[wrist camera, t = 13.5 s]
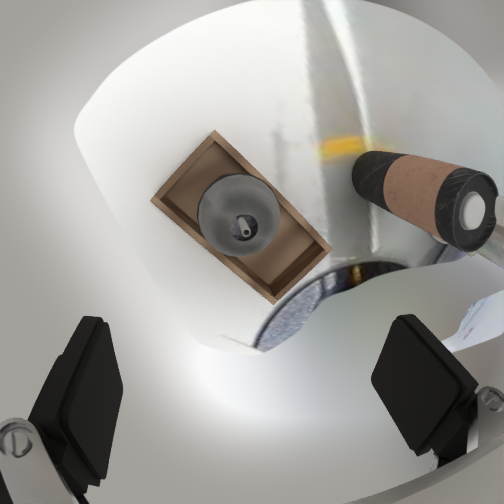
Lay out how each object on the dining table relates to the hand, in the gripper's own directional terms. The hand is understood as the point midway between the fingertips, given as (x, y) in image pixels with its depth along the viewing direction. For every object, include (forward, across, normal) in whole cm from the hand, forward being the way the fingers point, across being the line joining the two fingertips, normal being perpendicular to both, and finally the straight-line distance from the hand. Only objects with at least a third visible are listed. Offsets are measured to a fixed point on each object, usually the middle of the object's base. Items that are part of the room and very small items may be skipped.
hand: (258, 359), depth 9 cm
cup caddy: (+30, -3, +3) cm, 31 cm away
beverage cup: (+30, -1, 0) cm, 30 cm away
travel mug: (+31, -21, -4) cm, 37 cm away
